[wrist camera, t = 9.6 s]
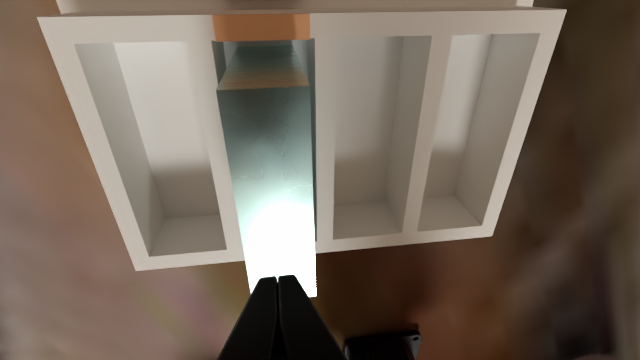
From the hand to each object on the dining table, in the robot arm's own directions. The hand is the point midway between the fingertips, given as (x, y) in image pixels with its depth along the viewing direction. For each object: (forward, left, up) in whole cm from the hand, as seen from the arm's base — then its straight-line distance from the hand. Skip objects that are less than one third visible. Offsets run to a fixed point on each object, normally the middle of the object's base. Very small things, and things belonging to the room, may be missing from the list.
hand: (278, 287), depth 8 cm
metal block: (0, 0, -10) cm, 10 cm away
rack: (+1, -2, -11) cm, 11 cm away
